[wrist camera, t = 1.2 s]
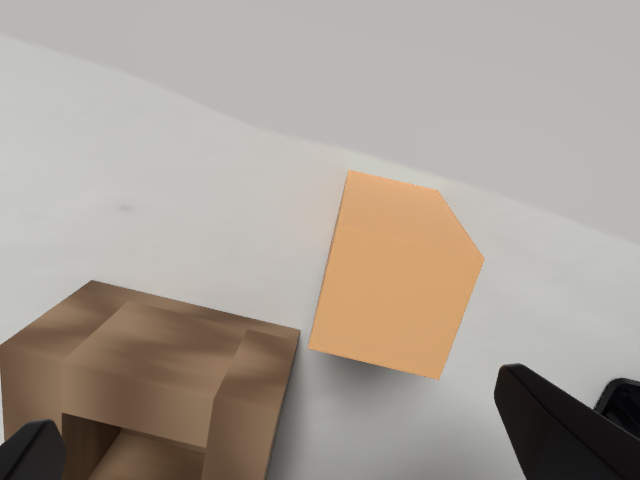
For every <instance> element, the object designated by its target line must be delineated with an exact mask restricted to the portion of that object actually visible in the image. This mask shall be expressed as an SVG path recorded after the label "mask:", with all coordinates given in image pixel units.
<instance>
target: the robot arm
mask: <svg viewBox="0 0 640 480" xmlns="http://www.w3.org/2000/svg"><path fill="white" fill-rule="evenodd" d="M622 388H625V389H624V390H622V391H620V390H621V389H622ZM494 399H495V403H496V406H497V409H498V411H499V414H500V416H501V419H502V421H503V424H504V426H505V429H506V431H507V434H508V436H509V439H510V441H511V444H512V446H513V449H514V451H515V454H516V456H517V459H518V461H519V464H520V466H521V468H522V471H523V473H524V475H525V477H526V479H527V480H640V382H638V381H634V380H630V379H626V378H619V379H616V380H614V381H612V383H611V384H610V385H609V387H608V389H607V391H606V393H605V394H604V396H603V398H602V400H601V402H600V403H599V405H598V407H597V409H596V411H594V410H593V409H591V408H589V407H588V406H586V405H585V404H583V403H582V402H580V401H579V400H577V399H576V398H574V397H572V396H571V395H569V394H568V393H566V392H565V391H563V390H562V389H560V388H559V387H557V386H555V385H554V384H552V383H551V382H549V381H548V380H546V379H545V378H543V377H542V376H540V375H538V374H537V373H535V372H534V371H532V370H531V369H529V368H528V367H526V366H524V365H522V364H519V363H517V364H508V365H503V366H501V368H500V369H499V373H498V377H497V382H496V386H495V390H494ZM66 457H67V449H66V445H65V442H64V440H63V438H62V436H61V434H60V432H59V430H58V428H57V425H56V423H55V422H54V421H53V420H51V419H43V420H34V421H30V422H27V423H26V424H24V425H23V426H22V427H21V428H20V429H19V430H17V431H16V432H15V433H14V434H13V435H12V436H11V437H10V438H8V439H7V440H6V441H5V442H4V443H3V444H2V445H1V446H0V480H61V478H62V474H63V470H64V466H65V462H66Z"/></svg>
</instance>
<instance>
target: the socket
mask: <svg viewBox="0 0 640 480" xmlns="http://www.w3.org/2000/svg"><path fill="white" fill-rule="evenodd" d="M299 334H300V330H297V329H293V328H289V327H285V326H280V325H276V324H272V323H268V322H264V321H260V320H255V319H251V318H247V317H243V316H239V315H235V314H230V313H226V312H222V311H218V310H214V309H210V308H206V307H201V306H197V305H193V304H189V303H185V302H181V301H176V300H172V299H168V298H164V297H160V296H156V295H151V294H147V293H143V292H139V291H135V290H131V289H126V288H122V287H118V286H114V285H110V284H106V283H101V282H97V281H93V280H91V281H90V282H88V283H87V284H85V285H84V286H83V287H81V288H80V289H78V290H77V291H76V292H74V293H73V294H71V295H70V296H69V297H67V298H66V299H64V300H63V301H62V302H60V303H59V304H57V305H56V306H55V307H53V308H52V309H50V310H49V311H48V312H46V313H45V314H43V315H42V316H41V317H39V318H38V319H36V320H35V321H34V322H32V323H31V324H29V325H28V326H27V327H25V328H24V329H22V330H21V331H19V332H18V333H17V334H15V335H14V336H12V337H11V338H10V339H8V340H7V341H5V342H4V343H3V344H1V345H0V374H1V390H2V407H3V423H4V440H5V441H6V440H7V439H8V438H10V437H11V436H12V435H13V434H14V433H15V432H16V431H17V430H19V429H20V428H21V427H22V426H23V425H24V424H26V423H27V422H30V421H34V420H43V419H51V420H53V421H54V422H55V423H56V425H57V428H58V430H59V432H60V434H61V436H62V438H63V440H64V442H65V445H66V449H67V457H66V462H65V466H64V470H63V474H62V478H61V480H266V479H267V474H268V470H269V465H270V461H271V457H272V452H273V448H274V443H275V439H276V435H277V430H278V426H279V422H280V417H281V413H282V408H283V404H284V400H285V395H286V391H287V386H288V382H289V378H290V373H291V369H292V365H293V360H294V356H295V351H296V347H297V343H298V338H299Z"/></svg>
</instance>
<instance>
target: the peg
mask: <svg viewBox="0 0 640 480" xmlns="http://www.w3.org/2000/svg"><path fill="white" fill-rule="evenodd" d="M483 262H484V257H483V256H482V254H481V253H480V251H479V250H478V248H477V247H476V245H475V244H474V243H473V241H472V240H471V238H470V237H469V235H468V234H467V232H466V231H465V229H464V228H463V226H462V225H461V224H460V222H459V221H458V219H457V218H456V216H455V215H454V213H453V212H452V210H451V209H450V208H449V206H448V205H447V203H446V202H445V200H444V199H443V197H442V196H441V194H440V193H439V191H438V190H434V189H430V188H426V187H421V186H417V185H413V184H408V183H404V182H400V181H395V180H391V179H387V178H382V177H378V176H374V175H369V174H365V173H361V172H357V171H352V170H348V174H347V179H346V183H345V187H344V191H343V195H342V200H341V204H340V208H339V212H338V216H337V221H336V225H335V229H334V233H333V238H332V242H331V246H330V250H329V255H328V259H327V264H326V268H325V273H324V277H323V282H322V286H321V291H320V296H319V300H318V305H317V309H316V314H315V318H314V323H313V327H312V332H311V337H310V341H309V346H308V349H312V350H317V351H321V352H325V353H329V354H333V355H337V356H341V357H346V358H350V359H354V360H358V361H362V362H366V363H371V364H375V365H379V366H383V367H387V368H391V369H395V370H400V371H404V372H408V373H412V374H416V375H420V376H425V377H429V378H433V379H437V380H439V378H440V376H441V373H442V370H443V368H444V365H445V363H446V360H447V357H448V355H449V352H450V349H451V347H452V344H453V341H454V339H455V336H456V333H457V331H458V328H459V325H460V323H461V320H462V318H463V315H464V312H465V310H466V307H467V304H468V302H469V299H470V296H471V294H472V291H473V288H474V286H475V283H476V280H477V278H478V275H479V273H480V270H481V267H482V265H483Z"/></svg>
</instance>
